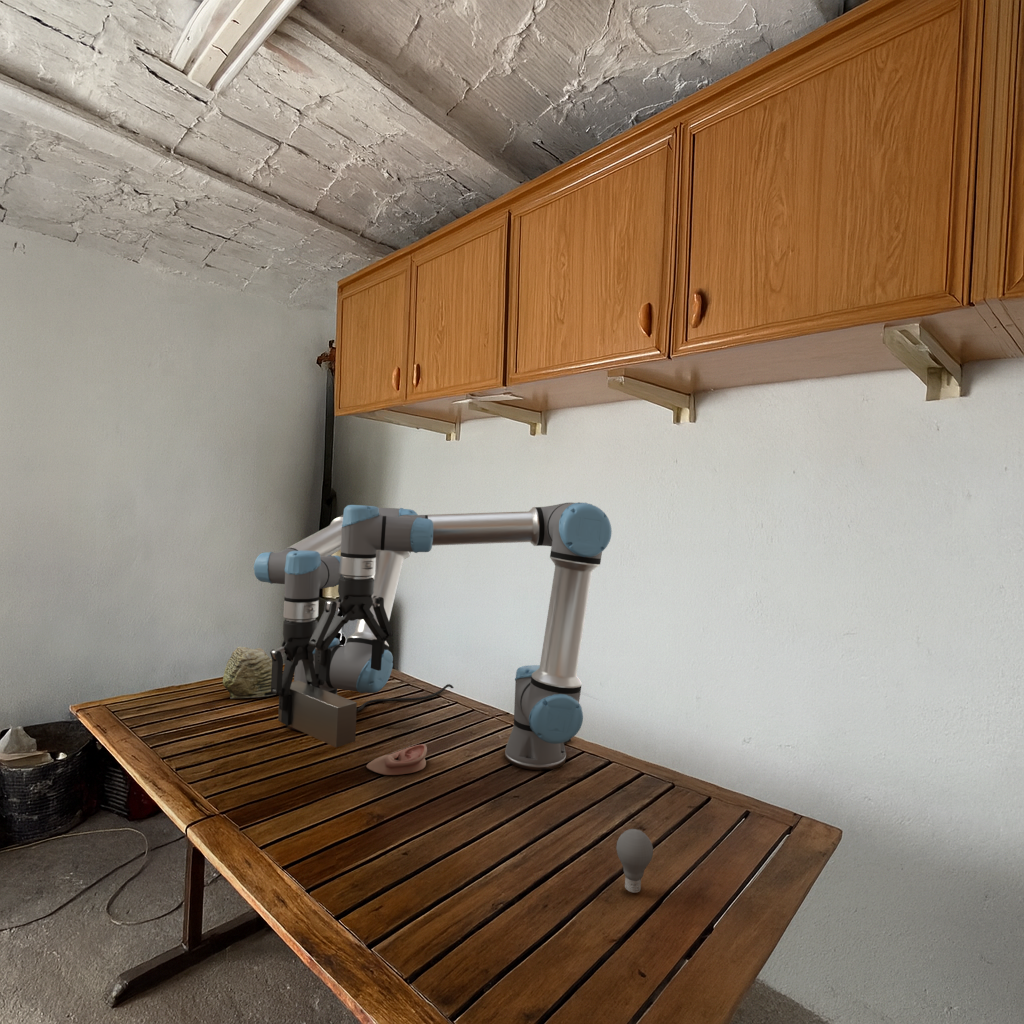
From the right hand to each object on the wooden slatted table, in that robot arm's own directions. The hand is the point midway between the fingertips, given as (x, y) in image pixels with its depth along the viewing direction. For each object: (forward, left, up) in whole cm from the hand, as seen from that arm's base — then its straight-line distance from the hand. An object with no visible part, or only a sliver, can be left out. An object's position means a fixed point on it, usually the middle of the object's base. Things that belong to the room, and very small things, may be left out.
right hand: (350, 674), depth 137 cm
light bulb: (-35, +54, -25) cm, 69 cm away
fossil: (+12, -74, -25) cm, 79 cm away
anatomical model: (-14, -8, -25) cm, 30 cm away
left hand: (+9, -13, -13) cm, 20 cm away
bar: (+6, -6, -14) cm, 16 cm away
